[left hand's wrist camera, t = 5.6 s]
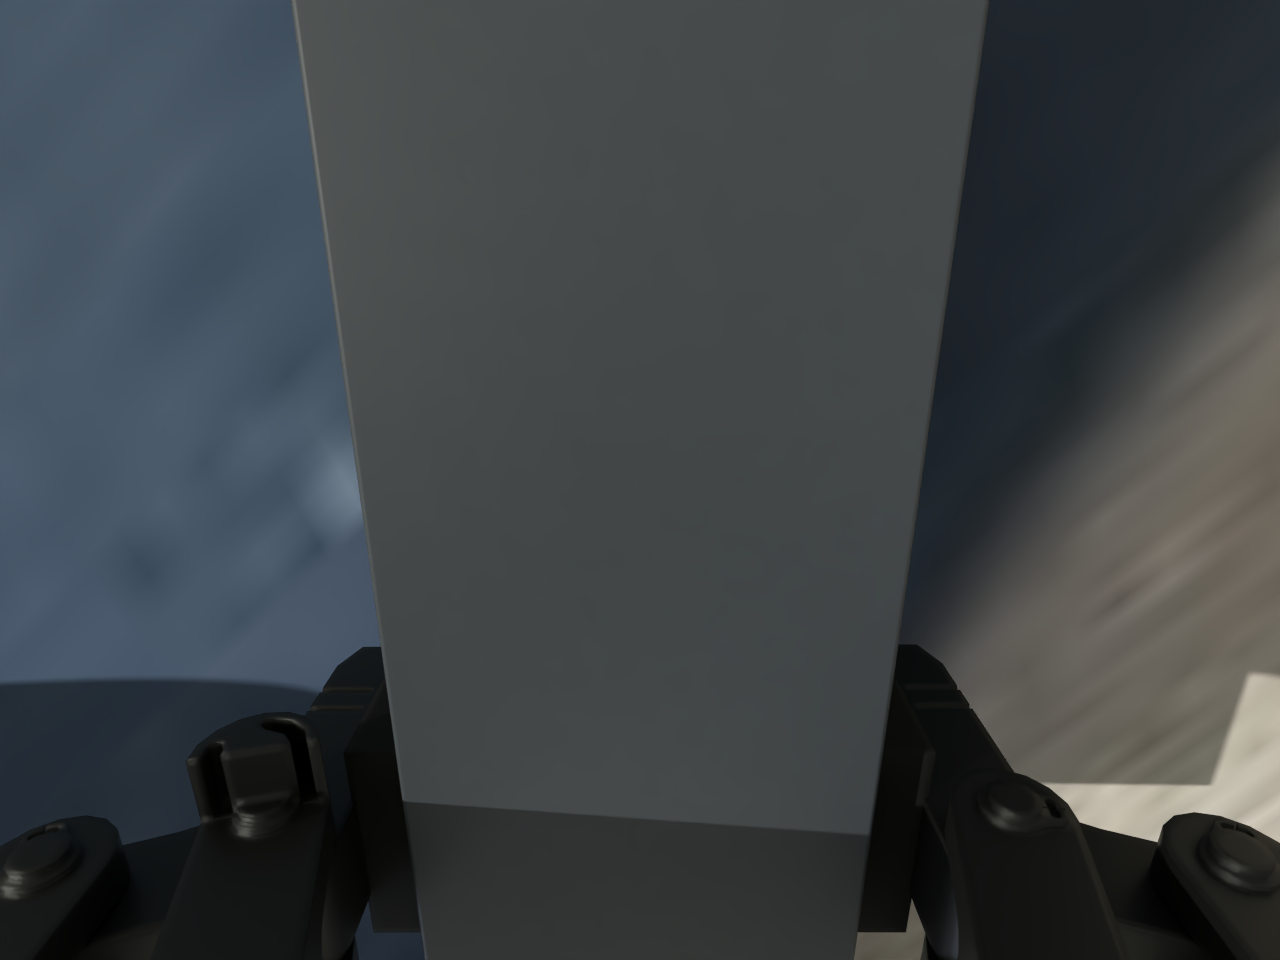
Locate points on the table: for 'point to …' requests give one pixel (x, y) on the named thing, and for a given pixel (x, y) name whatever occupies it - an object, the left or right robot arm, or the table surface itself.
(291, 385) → the table surface
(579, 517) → the post
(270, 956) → the left robot arm
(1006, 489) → the table surface
